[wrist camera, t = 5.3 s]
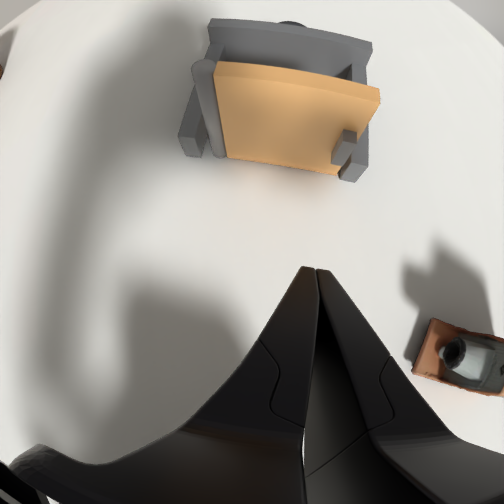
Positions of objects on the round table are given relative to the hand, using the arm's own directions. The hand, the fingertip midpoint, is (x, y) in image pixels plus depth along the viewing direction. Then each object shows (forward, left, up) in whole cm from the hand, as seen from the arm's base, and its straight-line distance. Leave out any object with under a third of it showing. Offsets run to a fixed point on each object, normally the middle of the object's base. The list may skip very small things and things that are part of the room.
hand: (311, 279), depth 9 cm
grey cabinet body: (+13, +8, -12) cm, 19 cm away
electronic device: (+3, -16, -12) cm, 20 cm away
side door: (+7, +5, -12) cm, 15 cm away
